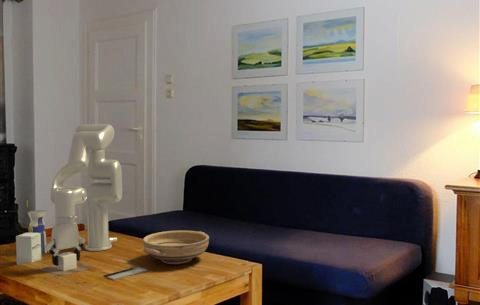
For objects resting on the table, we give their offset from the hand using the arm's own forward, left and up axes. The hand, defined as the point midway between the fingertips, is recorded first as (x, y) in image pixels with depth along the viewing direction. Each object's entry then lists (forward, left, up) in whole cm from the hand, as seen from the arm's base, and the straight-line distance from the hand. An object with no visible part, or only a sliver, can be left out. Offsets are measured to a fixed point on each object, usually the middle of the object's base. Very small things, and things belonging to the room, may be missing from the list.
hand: (66, 262), depth 205 cm
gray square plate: (-14, +16, -4) cm, 22 cm away
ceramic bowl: (-40, +21, -4) cm, 45 cm away
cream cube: (0, 0, -2) cm, 2 cm away
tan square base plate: (0, 0, -4) cm, 4 cm away
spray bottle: (-7, -38, -4) cm, 39 cm away
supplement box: (+4, -24, -4) cm, 25 cm away
